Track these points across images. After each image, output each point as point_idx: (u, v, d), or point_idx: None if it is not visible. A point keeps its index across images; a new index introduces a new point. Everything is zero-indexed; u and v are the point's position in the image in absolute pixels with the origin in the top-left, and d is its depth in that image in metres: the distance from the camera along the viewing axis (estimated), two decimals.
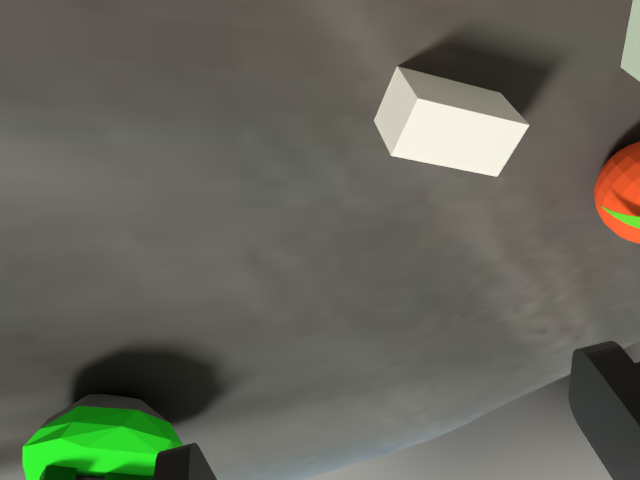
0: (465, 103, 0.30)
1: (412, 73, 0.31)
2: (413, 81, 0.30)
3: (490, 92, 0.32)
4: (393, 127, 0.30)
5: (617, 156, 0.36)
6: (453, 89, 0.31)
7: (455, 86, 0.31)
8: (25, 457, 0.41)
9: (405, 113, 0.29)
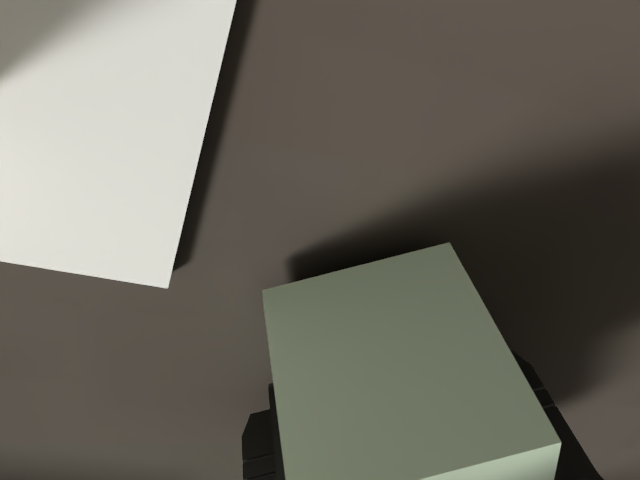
0: None
1: None
2: None
3: None
4: None
5: None
6: None
7: None
8: None
9: None
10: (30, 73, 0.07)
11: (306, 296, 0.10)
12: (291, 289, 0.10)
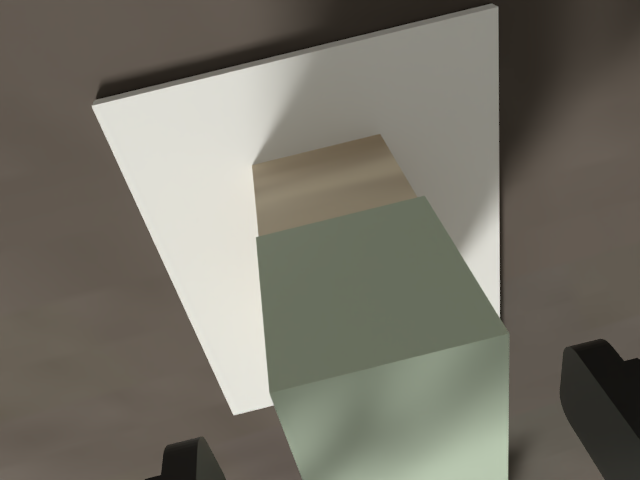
0: None
1: None
2: None
3: None
4: None
5: None
6: None
7: None
8: None
9: None
10: None
11: (295, 239, 0.11)
12: (282, 235, 0.11)
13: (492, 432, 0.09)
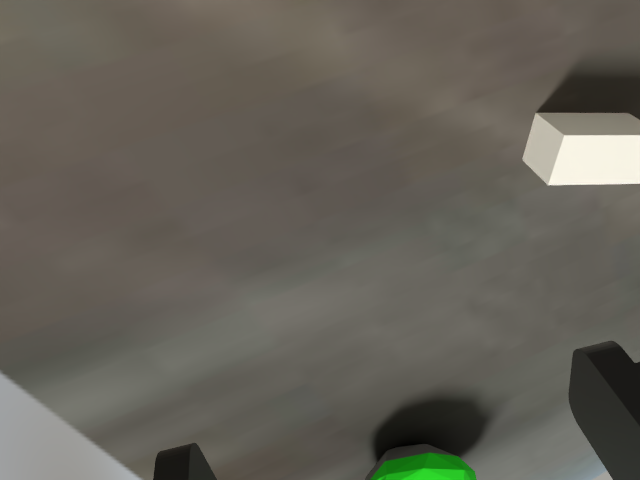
0: (603, 129, 0.35)
1: (550, 115, 0.37)
2: (554, 122, 0.36)
3: (620, 115, 0.38)
4: (544, 162, 0.36)
5: None
6: (588, 120, 0.37)
7: (589, 117, 0.37)
8: None
9: (554, 149, 0.35)
10: None
11: None
12: None
13: None
